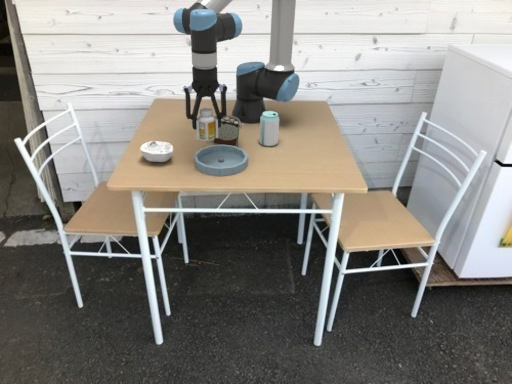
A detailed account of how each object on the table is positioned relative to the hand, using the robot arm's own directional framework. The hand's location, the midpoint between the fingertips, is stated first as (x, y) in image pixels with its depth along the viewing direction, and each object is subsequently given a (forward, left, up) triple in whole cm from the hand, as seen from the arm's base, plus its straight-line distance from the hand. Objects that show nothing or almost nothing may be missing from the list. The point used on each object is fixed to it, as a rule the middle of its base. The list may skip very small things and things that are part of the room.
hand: (207, 137), depth 134 cm
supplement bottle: (0, 0, -1) cm, 1 cm away
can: (-26, -12, -10) cm, 30 cm away
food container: (-11, -16, -11) cm, 22 cm away
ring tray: (-5, 0, -10) cm, 11 cm away
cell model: (+16, -7, -11) cm, 21 cm away
